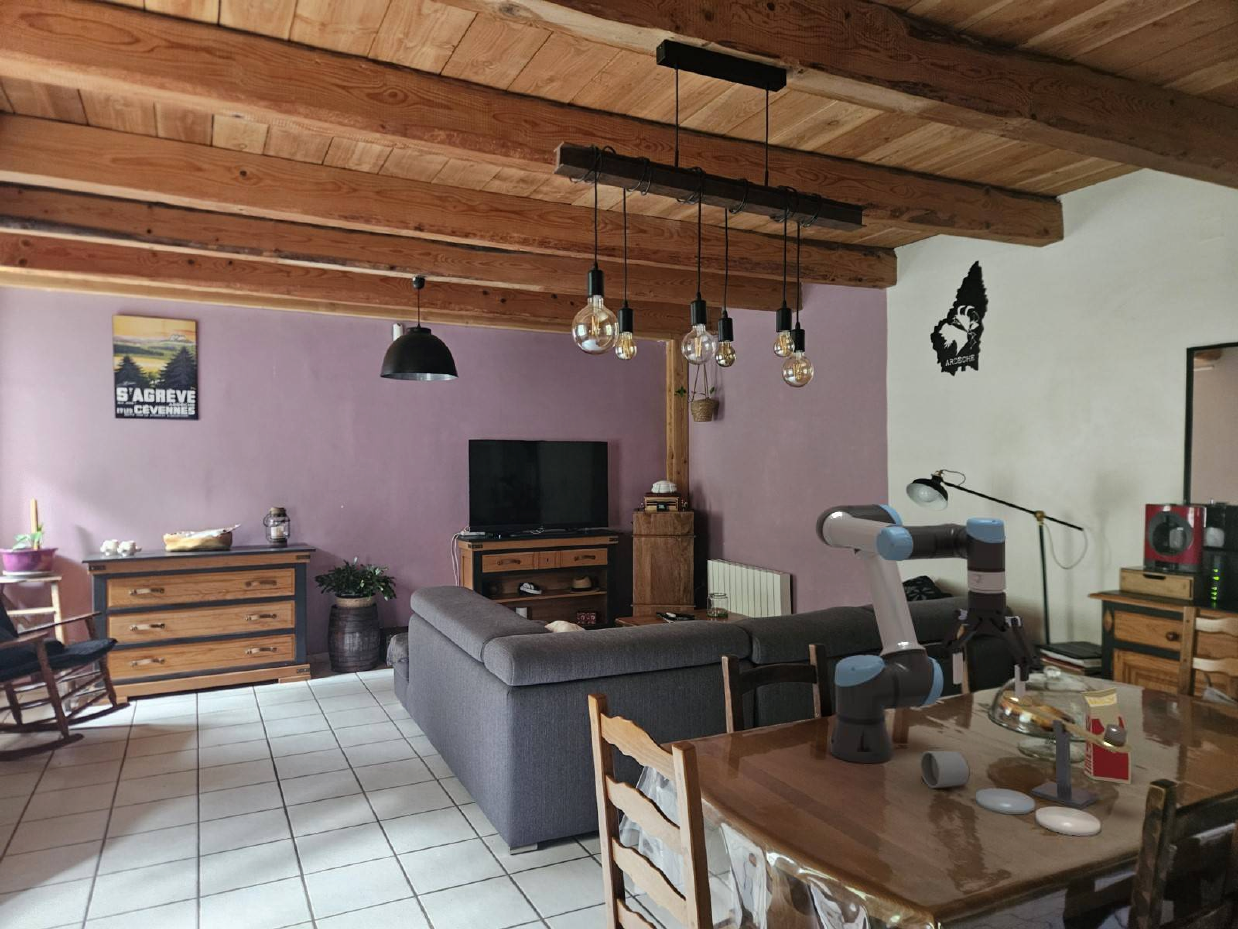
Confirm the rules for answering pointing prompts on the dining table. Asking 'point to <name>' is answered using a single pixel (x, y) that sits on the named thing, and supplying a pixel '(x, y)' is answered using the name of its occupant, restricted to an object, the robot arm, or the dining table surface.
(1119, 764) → the milk carton
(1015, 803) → the plate near greyblue
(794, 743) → the dining table surface
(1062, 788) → the balance stand
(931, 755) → the ceramic mug
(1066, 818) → the plate far cream
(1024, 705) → the balance beam
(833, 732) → the robot arm
